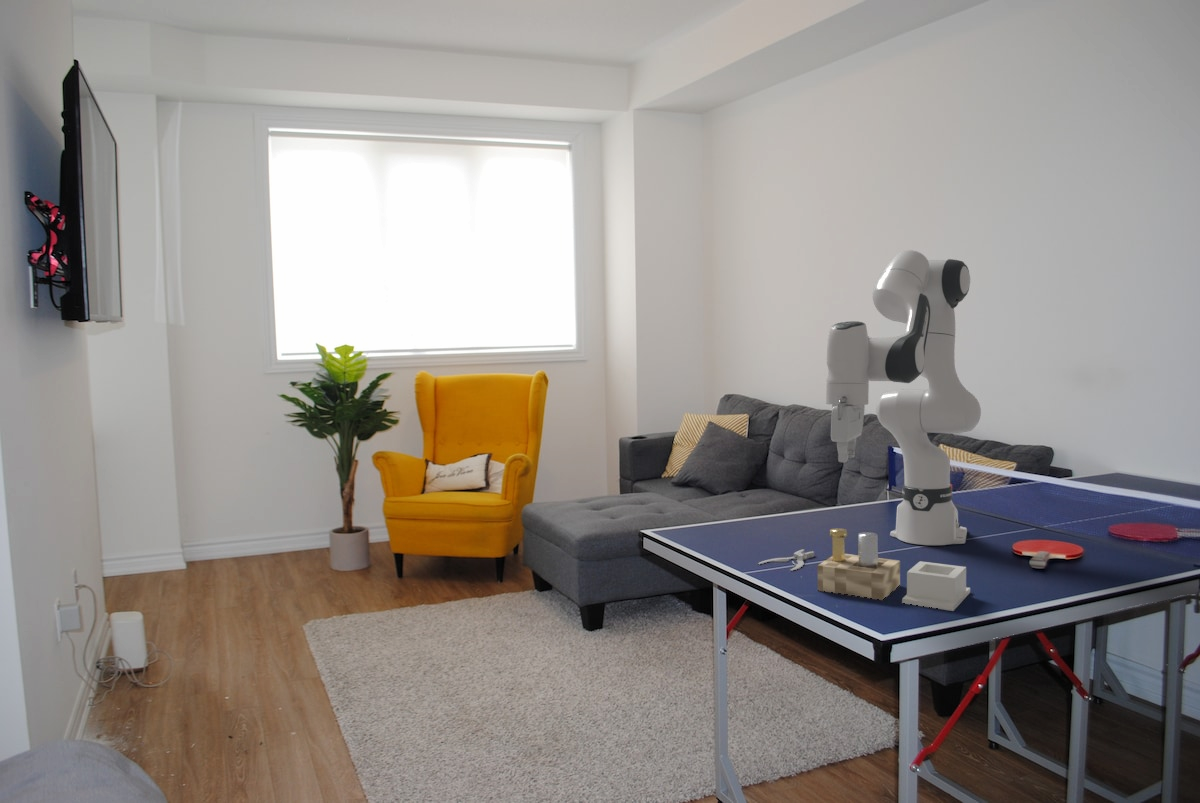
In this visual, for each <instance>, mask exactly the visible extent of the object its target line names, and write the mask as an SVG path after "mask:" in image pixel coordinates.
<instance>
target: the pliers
mask: <svg viewBox="0 0 1200 803" xmlns="http://www.w3.org/2000/svg"><path fill="white" fill-rule="evenodd" d="M813 557H815V551H813V550H812V551H807V552H805V548H804V549H800V550H797V551H795V552H794V553H793V556H789V557H787V556H786V557H774V558H769V559H766V560H762V561H759V562H758V563H757V565H758V564H759V565H758V566H761V565H760V564H762V565H765V564H764V563H766V564H768V563H767V562H770V563H788V562H787V561H791V562H792V563H793V564H794V565H793V564H792V565H793V566H794V567H792V568H790V569H789V572H791V571H792V572H794V571H793V570H796V571H798V570H800V569H802V568H803V567H804V566H803V565H805V562H804V560H808V559H810V558H813ZM791 559H793V560H791ZM796 559H797V560H796ZM794 560H796V563H795V562H794ZM795 565H796V566H795ZM801 567H802V568H801ZM797 569H798V570H797Z"/></svg>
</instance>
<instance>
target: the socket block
mask: <svg viewBox="0 0 1200 803" xmlns="http://www.w3.org/2000/svg"><path fill="white" fill-rule="evenodd" d="M816 569H817V591H818V590H819V591H818V592H824V591H825V592H826V593H831V592H833V594H838V593H841V594H840V595H844V594H848V595H847V596H851V595H855V596H854V597H857V596H860V597H859V598H864V597H867V598H866V599H870V598H872V600H877V599H879V601H884V600H885V599H886V598H887V597H888V596H889V595H891V594H892V593H893V592H894V591H896V590H897V589H898V588H899V587H900V586H901V560H898V559H889V558H882V557H878V568H877V569H873V568H866V567H858V554H852V553H851V554H850V553H845V561H844V562H834V561H833V555H831V556H830V557H828V558H826V559H825V560H823V561H822V562H820V563H819V564H818V565H817V567H816ZM899 585H900V586H899ZM898 586H899V587H898ZM897 587H898V588H897ZM896 588H897V589H896ZM892 591H893V592H892ZM825 592H824V593H825ZM891 592H892V593H891ZM890 593H891V594H890ZM885 597H886V598H885ZM884 598H885V599H884ZM883 599H884V600H883Z"/></svg>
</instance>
